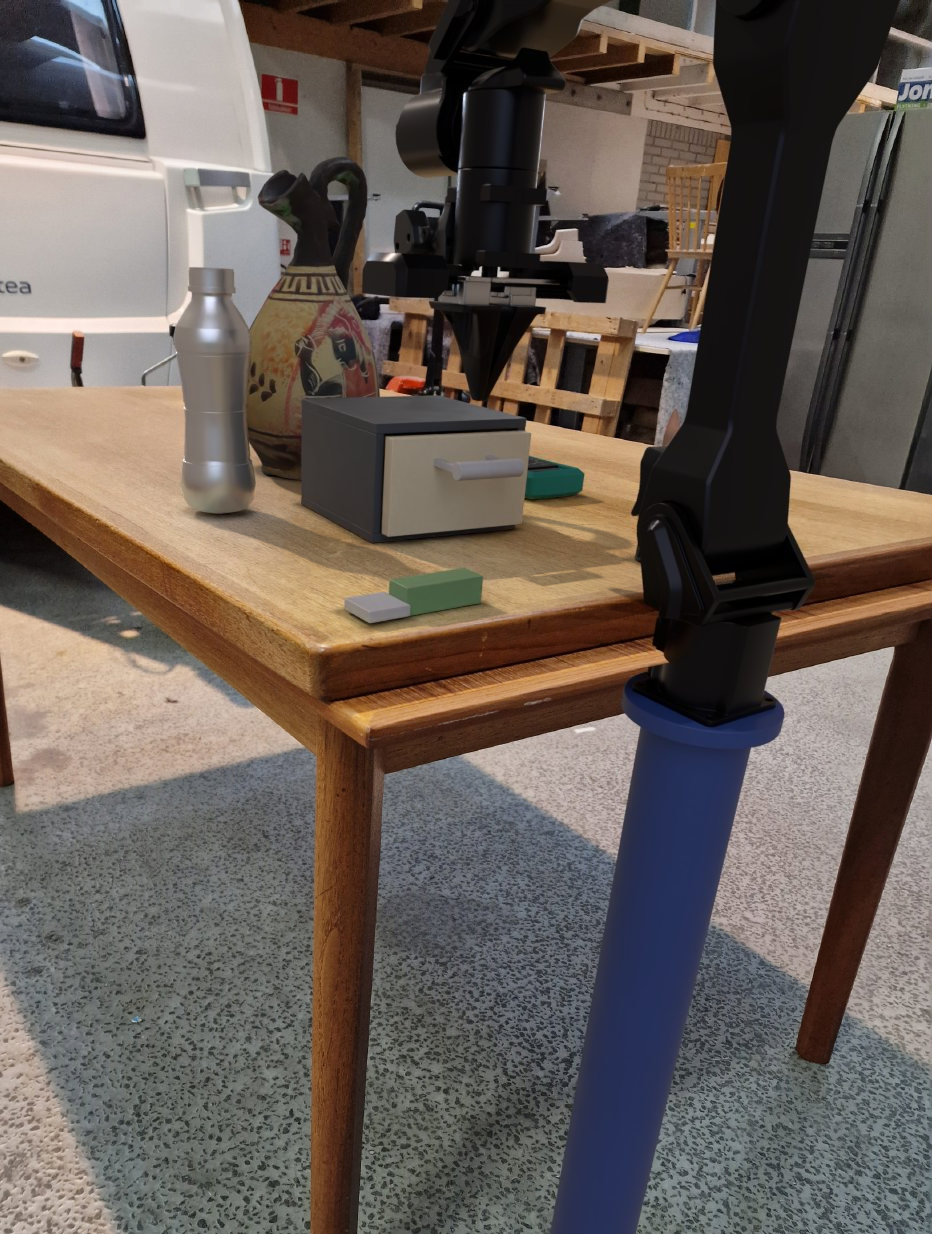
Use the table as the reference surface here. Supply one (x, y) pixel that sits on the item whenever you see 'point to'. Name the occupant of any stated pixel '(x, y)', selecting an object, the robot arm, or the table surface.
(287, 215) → the ceramic jug
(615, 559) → the table surface
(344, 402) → the cabinet
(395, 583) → the usb flash drive
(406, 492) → the drawer
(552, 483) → the digital multimeter
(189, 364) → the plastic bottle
